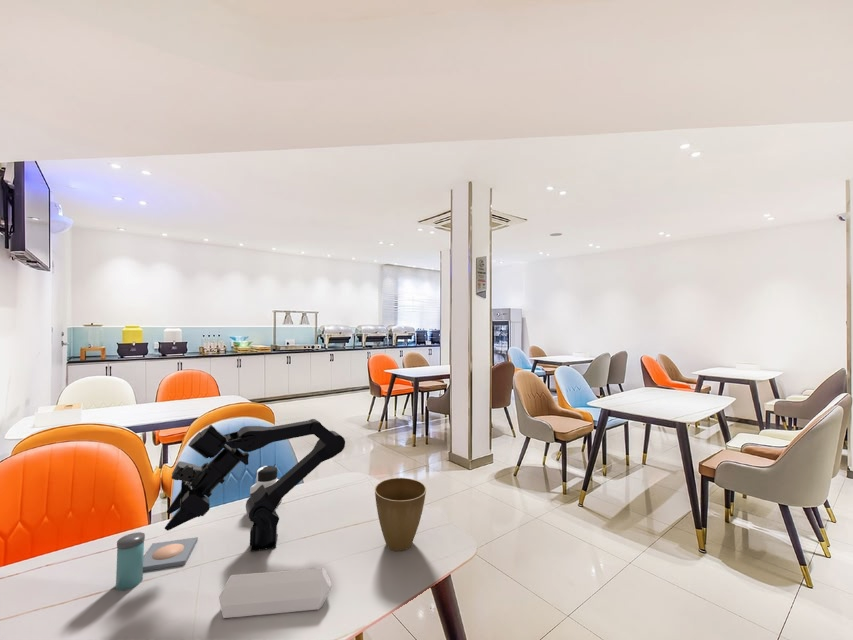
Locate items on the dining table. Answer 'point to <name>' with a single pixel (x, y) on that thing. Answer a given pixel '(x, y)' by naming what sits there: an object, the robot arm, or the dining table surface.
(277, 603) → the white hexagonal prism
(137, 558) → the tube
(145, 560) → the card
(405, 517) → the plant pot
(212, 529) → the dining table surface
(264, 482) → the container
